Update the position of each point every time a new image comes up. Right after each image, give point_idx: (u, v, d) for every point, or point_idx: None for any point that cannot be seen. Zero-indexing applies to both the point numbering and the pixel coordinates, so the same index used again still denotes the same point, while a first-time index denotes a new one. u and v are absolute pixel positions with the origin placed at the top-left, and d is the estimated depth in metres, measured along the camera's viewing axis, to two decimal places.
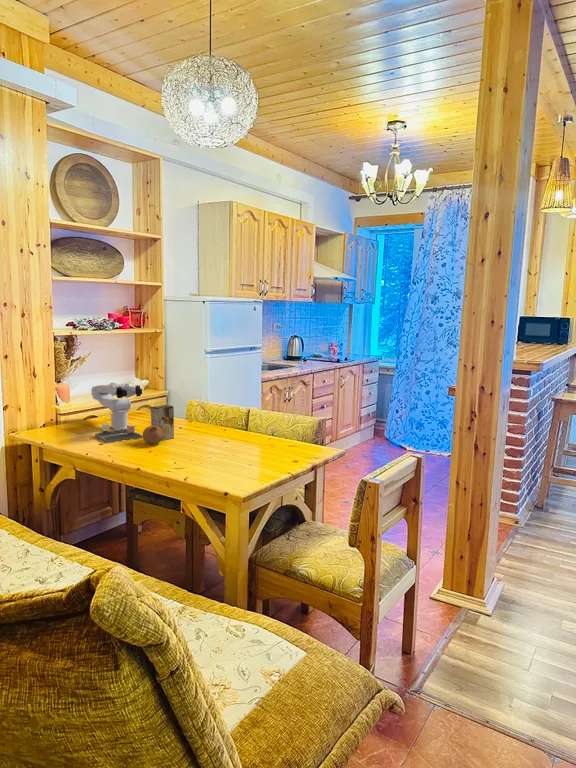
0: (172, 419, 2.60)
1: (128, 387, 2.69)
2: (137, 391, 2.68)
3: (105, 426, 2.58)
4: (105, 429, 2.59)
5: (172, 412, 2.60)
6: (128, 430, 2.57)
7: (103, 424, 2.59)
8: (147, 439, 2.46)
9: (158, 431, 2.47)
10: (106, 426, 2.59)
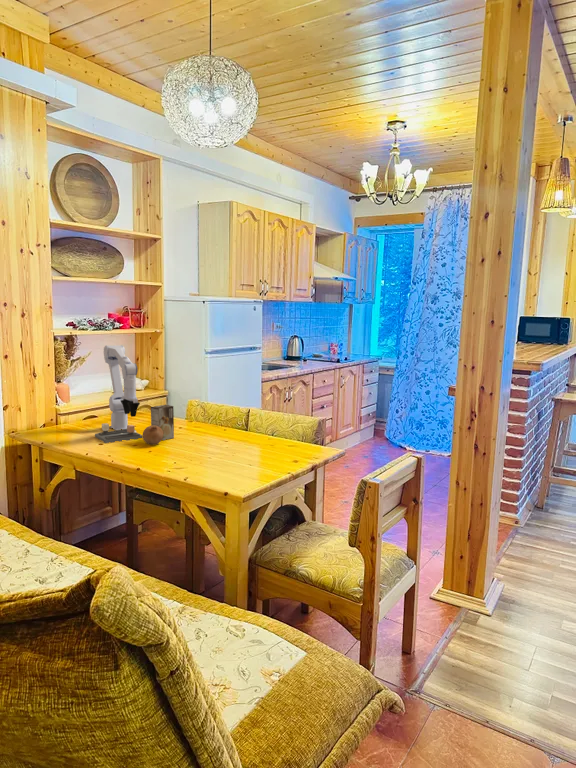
0: (172, 419, 2.60)
1: None
2: None
3: (105, 426, 2.58)
4: (105, 429, 2.59)
5: (172, 412, 2.60)
6: (128, 430, 2.57)
7: (103, 424, 2.59)
8: (147, 439, 2.46)
9: (158, 431, 2.47)
10: (106, 426, 2.59)
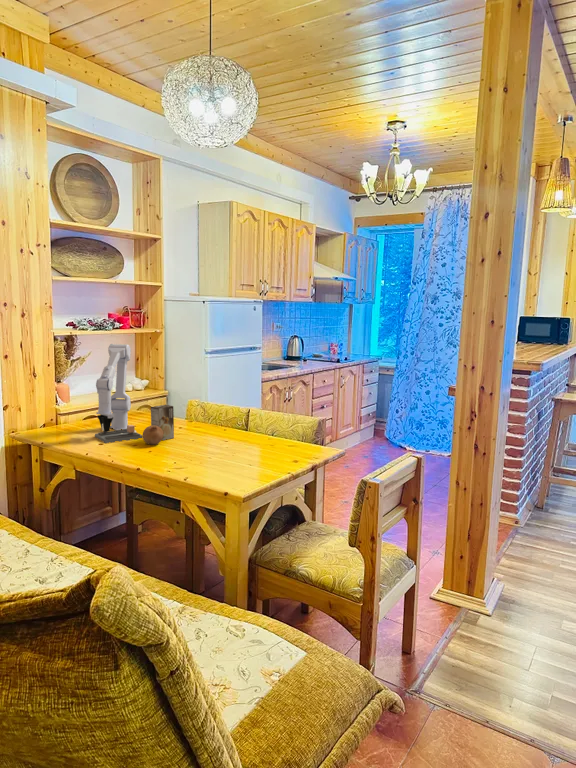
0: (172, 419, 2.60)
1: None
2: None
3: None
4: None
5: (172, 412, 2.60)
6: (128, 430, 2.57)
7: None
8: (147, 439, 2.46)
9: (158, 431, 2.47)
10: None
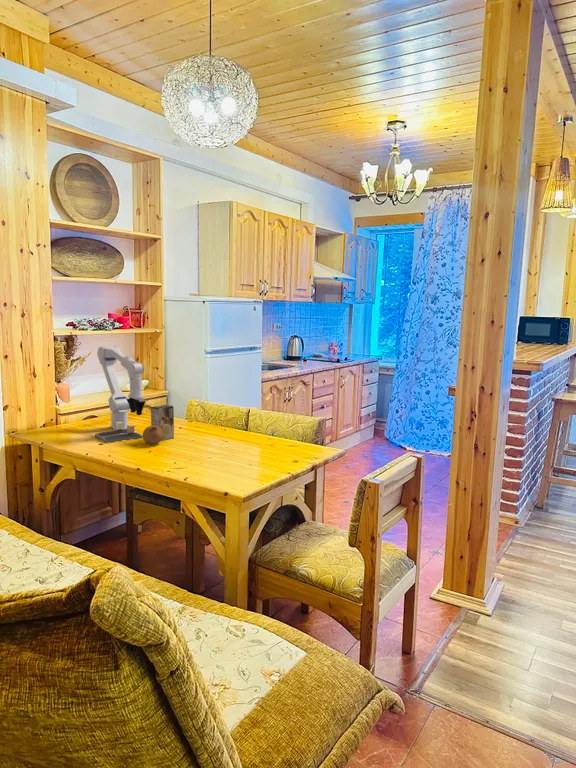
0: (172, 419, 2.60)
1: None
2: None
3: (119, 424, 2.63)
4: (119, 427, 2.63)
5: (172, 412, 2.60)
6: (128, 430, 2.57)
7: (117, 422, 2.63)
8: (147, 439, 2.46)
9: (158, 431, 2.47)
10: (120, 424, 2.63)
